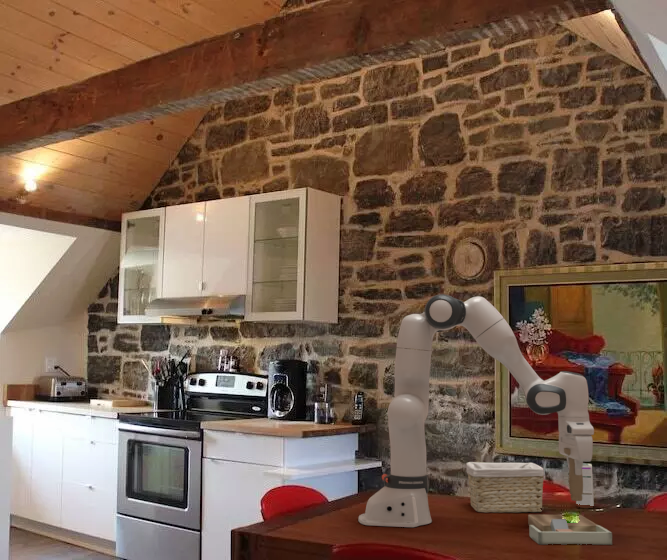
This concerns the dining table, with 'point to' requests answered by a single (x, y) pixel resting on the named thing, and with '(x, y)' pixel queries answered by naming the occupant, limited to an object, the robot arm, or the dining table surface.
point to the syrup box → (587, 486)
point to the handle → (574, 480)
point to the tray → (572, 537)
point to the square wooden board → (545, 520)
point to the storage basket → (505, 487)
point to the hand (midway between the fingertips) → (575, 473)
